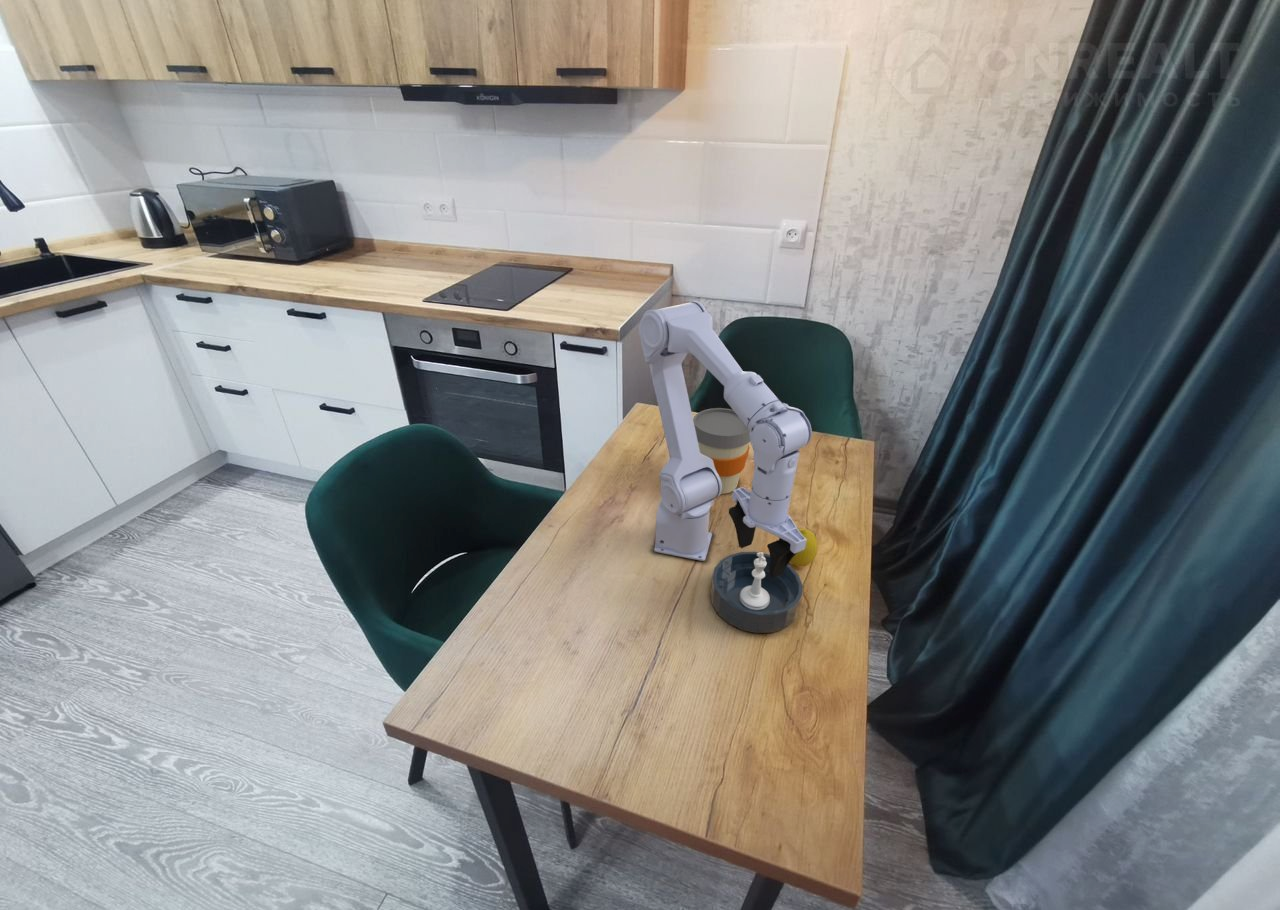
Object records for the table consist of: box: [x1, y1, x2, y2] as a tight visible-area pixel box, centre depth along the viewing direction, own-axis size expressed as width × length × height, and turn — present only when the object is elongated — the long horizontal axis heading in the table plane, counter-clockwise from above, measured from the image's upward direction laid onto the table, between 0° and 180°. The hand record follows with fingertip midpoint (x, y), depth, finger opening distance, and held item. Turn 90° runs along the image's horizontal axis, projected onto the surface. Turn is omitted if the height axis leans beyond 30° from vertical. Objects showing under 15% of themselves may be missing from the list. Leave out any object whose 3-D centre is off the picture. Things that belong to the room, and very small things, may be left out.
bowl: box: [710, 551, 804, 634], centre depth 92 cm, size 14×14×5 cm
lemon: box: [789, 528, 818, 568], centre depth 99 cm, size 6×6×8 cm
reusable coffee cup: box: [693, 407, 751, 495], centre depth 119 cm, size 12×13×15 cm
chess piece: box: [739, 551, 770, 610], centre depth 90 cm, size 5×5×10 cm
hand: (760, 559), depth 89 cm, fingers open, 7 cm apart
